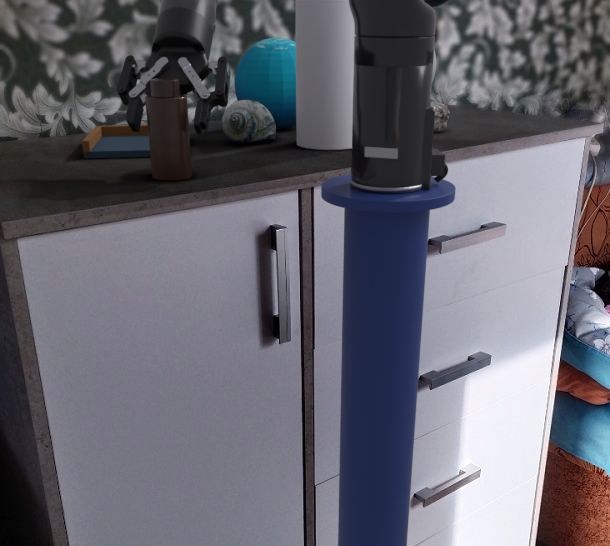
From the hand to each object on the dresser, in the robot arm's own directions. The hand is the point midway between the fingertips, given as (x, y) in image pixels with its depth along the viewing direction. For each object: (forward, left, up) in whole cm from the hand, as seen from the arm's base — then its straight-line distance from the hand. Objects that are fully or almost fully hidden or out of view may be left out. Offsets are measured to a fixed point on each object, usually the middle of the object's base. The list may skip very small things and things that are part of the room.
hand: (165, 129), depth 97 cm
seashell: (-11, -27, -6) cm, 30 cm away
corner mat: (+6, -23, -6) cm, 24 cm away
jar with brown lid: (0, -1, -6) cm, 6 cm away
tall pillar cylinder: (-24, -23, -6) cm, 34 cm away
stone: (-40, -34, -6) cm, 53 cm away
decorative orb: (-17, -40, -6) cm, 44 cm away
